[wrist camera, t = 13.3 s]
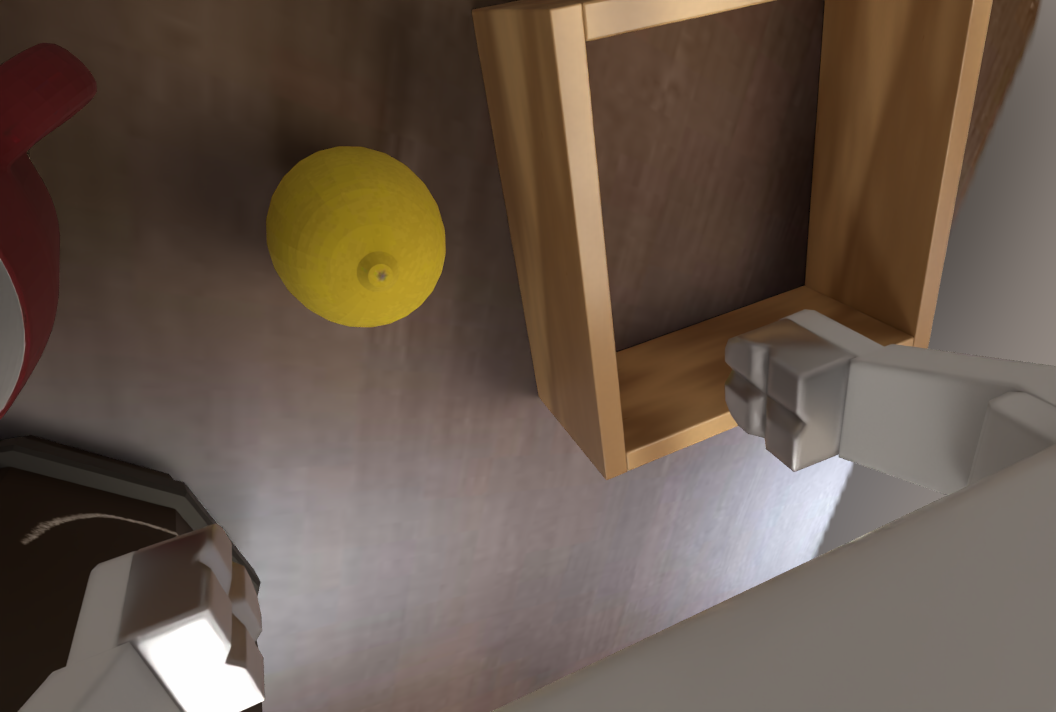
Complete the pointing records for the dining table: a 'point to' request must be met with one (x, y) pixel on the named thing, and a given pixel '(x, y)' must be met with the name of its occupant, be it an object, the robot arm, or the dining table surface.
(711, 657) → the robot arm
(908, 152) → the crate
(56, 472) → the wooden barrel
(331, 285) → the lemon
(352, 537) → the dining table surface
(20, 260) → the mug
